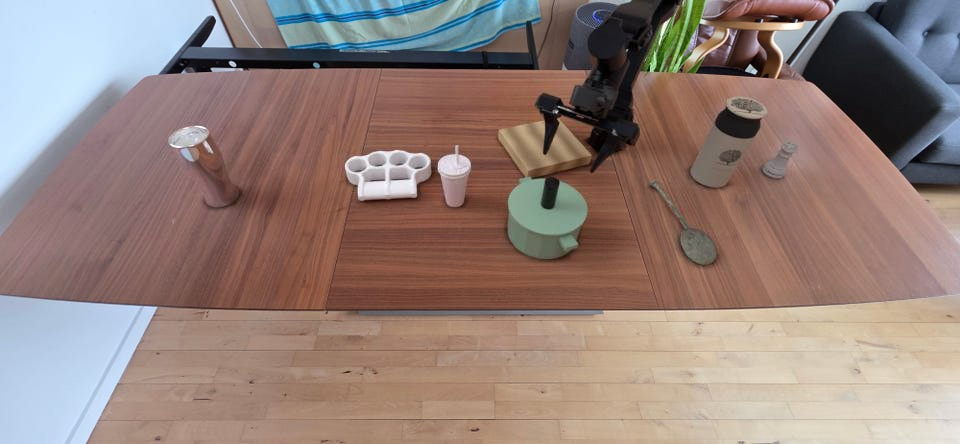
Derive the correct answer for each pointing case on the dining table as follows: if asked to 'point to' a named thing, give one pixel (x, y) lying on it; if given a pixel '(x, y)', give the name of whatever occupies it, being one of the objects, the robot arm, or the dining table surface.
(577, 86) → the robot arm
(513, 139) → the board
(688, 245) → the soupspoon
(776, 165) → the rook chess piece
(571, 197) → the lid
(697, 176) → the travel mug
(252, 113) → the dining table surface
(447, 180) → the smoothie
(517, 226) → the pot
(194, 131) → the beer glass
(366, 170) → the knuckle duster
